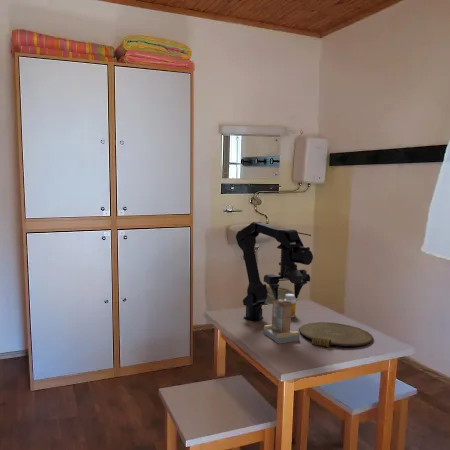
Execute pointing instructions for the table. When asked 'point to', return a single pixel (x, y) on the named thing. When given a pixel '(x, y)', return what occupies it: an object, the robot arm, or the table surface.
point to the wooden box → (281, 316)
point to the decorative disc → (335, 334)
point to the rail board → (281, 335)
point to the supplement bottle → (293, 303)
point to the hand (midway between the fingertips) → (286, 299)
